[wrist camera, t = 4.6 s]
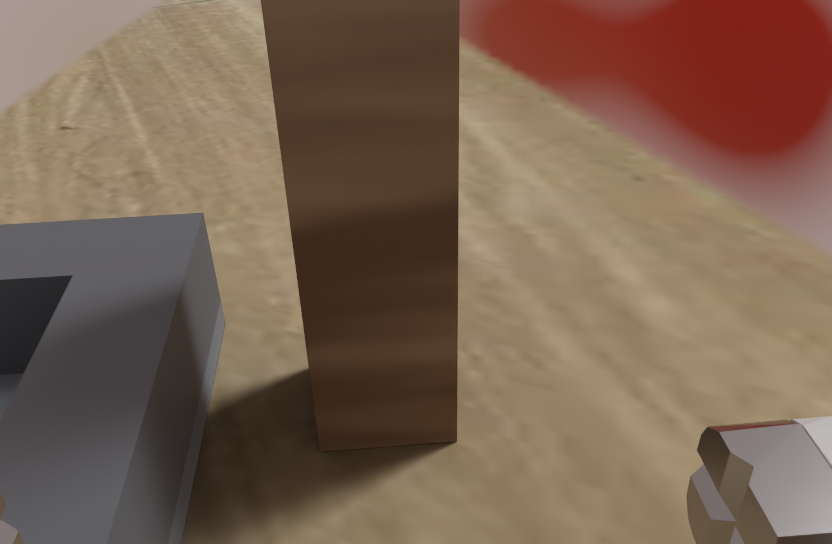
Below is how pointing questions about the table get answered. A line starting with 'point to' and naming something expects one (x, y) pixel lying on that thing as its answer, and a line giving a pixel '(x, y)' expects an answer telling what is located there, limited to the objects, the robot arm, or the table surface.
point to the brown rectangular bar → (373, 209)
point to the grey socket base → (105, 375)
